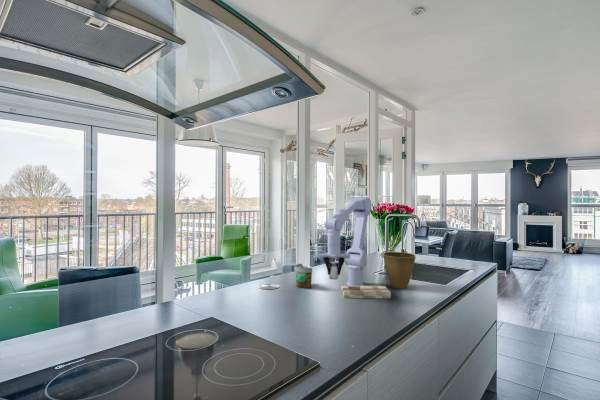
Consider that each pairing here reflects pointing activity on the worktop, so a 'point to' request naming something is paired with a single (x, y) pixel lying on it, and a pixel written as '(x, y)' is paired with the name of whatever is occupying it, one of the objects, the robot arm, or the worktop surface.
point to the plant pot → (399, 268)
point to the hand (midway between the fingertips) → (333, 274)
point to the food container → (303, 276)
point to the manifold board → (365, 291)
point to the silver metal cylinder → (333, 270)
